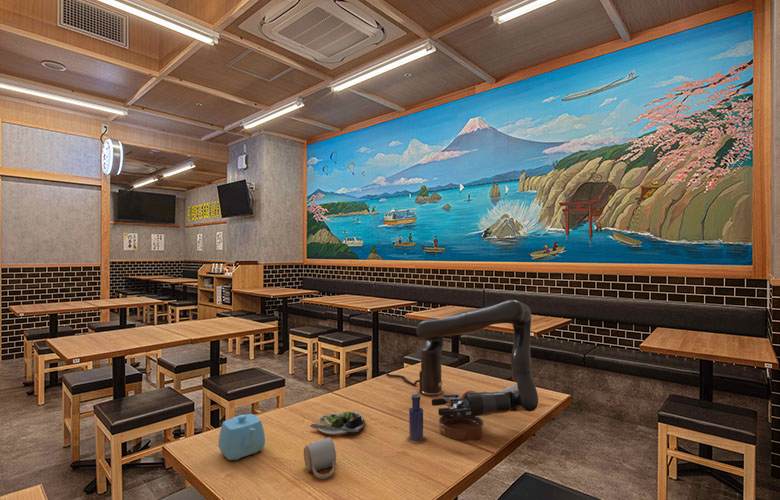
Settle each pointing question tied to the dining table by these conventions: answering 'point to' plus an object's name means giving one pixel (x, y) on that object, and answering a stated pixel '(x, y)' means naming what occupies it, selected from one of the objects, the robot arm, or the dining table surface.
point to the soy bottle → (416, 419)
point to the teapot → (241, 436)
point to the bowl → (461, 427)
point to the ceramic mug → (320, 457)
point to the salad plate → (340, 423)
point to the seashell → (510, 388)
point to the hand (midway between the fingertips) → (435, 407)
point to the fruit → (468, 392)
